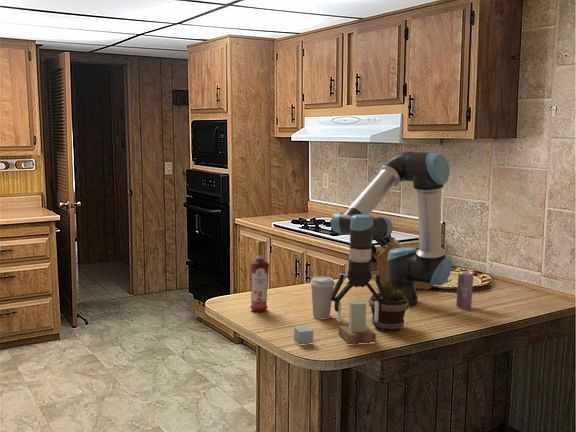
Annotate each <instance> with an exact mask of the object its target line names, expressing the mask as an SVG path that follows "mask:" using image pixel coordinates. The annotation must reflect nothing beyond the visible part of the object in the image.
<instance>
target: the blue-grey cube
mask: <svg viewBox="0 0 576 432" xmlns="http://www.w3.org/2000/svg"><path fill="white" fill-rule="evenodd" d="M294 340H295V341H296V342H297V343H298V344H309V343H313V344H314V330H313V329H312V328H311V327H310V326H309V325H304V326H295V327H294V329H293V341H294ZM298 344H297V345H298Z"/></svg>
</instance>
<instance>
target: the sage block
mask: <svg viewBox="0 0 576 432" xmlns="http://www.w3.org/2000/svg"><path fill="white" fill-rule="evenodd" d="M348 301H349V306H348V307H349V309H348V325H349V329H350V331H351V332H365V329H366V325H367V324H366V323H367V322H366V321H367V303H366V301H365V299H349V300H348Z"/></svg>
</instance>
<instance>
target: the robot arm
mask: <svg viewBox="0 0 576 432" xmlns="http://www.w3.org/2000/svg"><path fill="white" fill-rule="evenodd" d="M449 176H450V165H449V161H448V159H447V158H446V157H445V155H443V154H441V153H435V152H430V151H429V152H427V151H426V152H425V151H424V152H423V151H403V152H400V153H398V154H396V155H394V156H392V157H391V158H389V159H388V160H386V162H384V163H383V164H382V165H381V166H380V168H378V171H377V175H375V177H374V178H373V179H372V180H371V182H370V183H369V184H368V185H367V186H366V187H365V188H364V190H363V191H362V192H361V193H360V194H359V195H358V197H356V199H354V200H353V202H352V203H351V204H349V205H350V206H348V207H347V209H346V210H345V211H344V212H335V213H333V215H332V217H331V219H330V226H331V229H332V231H333V232H335V233H338V234H340V235H348V236H349V254H348V259H349V260H348V273H346V274H345V273H342V272H340V273H339V274H338V279H337V282H336V283H335V286H334V287H333V291H332V293H331V295H330V300H331V301H332V302H334V311H335V312H336V321H337V322H341V318H342V317H341V314H342V312H341V311H342V302H341V301H342V299H343V298H344V296H346V294H347V293H348V292H349V291H350V290H351V289H352V288H353V287H355V288H359V287H361V288H364V287H367V289H368V290H369V291H370V293H371V295H374V296H375V298H376V299H377V300H378V301H375V314H374V319H375V321H378V312H379V311H381V308H382V303H383V301H387V297H386V294H385V292H384V290H383V287H382V285H381V282H380V276H379V274H378V273H377V272H376V273H375V274H373V273H371V272H372V270H371V269H372V262H371V261H370V260H371V254H372V253H371V250H372V244H373V241H375V240H378V239H384V238H386V237H388V236H389V235H390V236H391V234H392V233H393V231H394V229H393V228H394V227H393V223H392V221H391V220H390V218H388V217H386V216H379V217H375V216H374V217H373V216H372V215H371V213H372V212H373V211H374V209H376V207H377V206H378V204H380V202H381V201H382V200H383V199H384V198H385V196H386V195H387V194H388V193H389V192H390V190H391V189H392V188H394V187H397V186H398V185H399V184H400V183H402V182H412V185H413V186H412V187H413V188H412V189H414V190H415V191H416V192H417V193H416V194H417V211H418V212H417V215H418V239H419V241H418V243H419V248H418V249H417V248H415V247H404V248H395V249H392V250H390V251H389V253H388V259H387V260H388V263H387V281H388V279H389V282H392V287H393V286H394V288H393V289H394V290H392V292H393V291H397V290H398V291H400V292H402V294H403V295H404V296H405V297H406V299H407V300H408V302H409V307H414V306H417V305H418V303H419V302H418V301H419V297H418V296H419V295H418V293H417V288H415V281H417V282H422V283H426V284H431V285H434V286H440V287H441V286H443V285H444V284H445V283H447V281H448V279H449V277H450V275H451V272H452V267H453V264H452V260H451V259H450V258H449V257H447V256H446V250H445V249H444V248H443V247H442V222H441V221H442V220H441V219H442V218H441V215H442V214H441V190H442V189H443V188H444V185H445V184H447V182H448V181H449ZM346 279H348V282H347V283H346V284H345V286H344V287H343V288H342V289H341V287H342V286H343V282H344V281H345V280H346ZM371 280H373V281H375V283H376V286H377V287H378V288H377V290H379V291H380V292H379V293H381V296H382V297H381V298H380V297H379V296H378V294H377V293H378V292H377V291H376V290H375V289H374V288H373V287H372V285H371V284H370V283H369V282H370V281H371ZM340 289H341V291H340ZM339 291H340V292H339Z"/></svg>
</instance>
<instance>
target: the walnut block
mask: <svg viewBox="0 0 576 432" xmlns="http://www.w3.org/2000/svg"><path fill="white" fill-rule="evenodd" d="M338 335H340V337H341V338H342V339H343V340H344V341H345V342H346V343H347V344H359V343H370V342H375V343H376V339H377V333H376V332H375V331H374V330H373V329H371V328H370V327H369V326H368V325H367V324H366V329H365V332H351V331H350V329H349V324H348V325H339V326H338ZM340 337H339V338H340ZM341 338H340V339H341ZM342 339H341V340H342ZM343 340H342V341H343ZM344 341H343V342H344ZM345 342H344V343H345ZM346 343H345V344H346ZM347 344H346V345H347Z"/></svg>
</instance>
